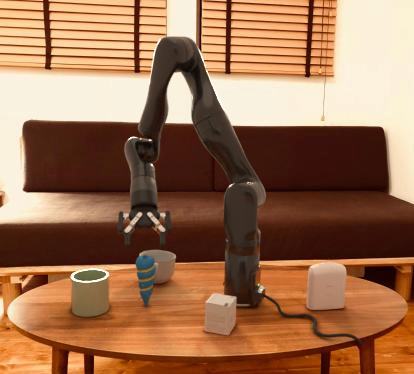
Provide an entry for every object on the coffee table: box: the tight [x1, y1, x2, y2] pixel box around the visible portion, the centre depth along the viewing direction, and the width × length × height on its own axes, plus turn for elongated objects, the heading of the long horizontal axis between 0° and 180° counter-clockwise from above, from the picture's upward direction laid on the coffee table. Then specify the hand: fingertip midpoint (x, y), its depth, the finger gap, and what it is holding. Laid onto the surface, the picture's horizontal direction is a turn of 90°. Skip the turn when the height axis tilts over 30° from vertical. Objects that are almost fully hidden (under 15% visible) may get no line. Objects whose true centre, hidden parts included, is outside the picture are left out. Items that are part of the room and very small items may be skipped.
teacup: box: [138, 249, 177, 284], centre depth 137 cm, size 14×11×8 cm
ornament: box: [135, 253, 156, 307], centre depth 120 cm, size 5×5×15 cm
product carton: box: [203, 292, 237, 336], centre depth 110 cm, size 6×6×7 cm
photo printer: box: [306, 261, 347, 311], centre depth 123 cm, size 10×4×12 cm, turn 100°
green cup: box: [70, 268, 110, 318], centre depth 118 cm, size 9×9×9 cm
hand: (145, 247), depth 121 cm, fingers open, 8 cm apart
